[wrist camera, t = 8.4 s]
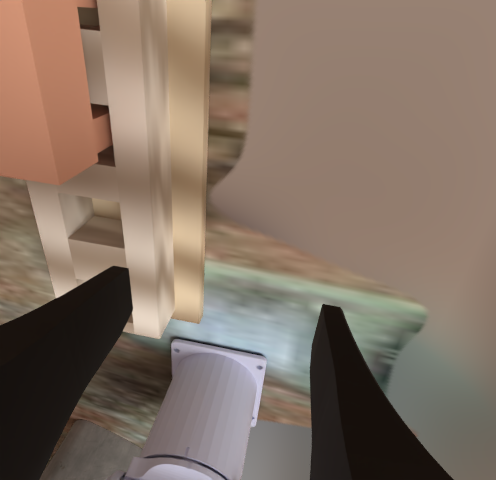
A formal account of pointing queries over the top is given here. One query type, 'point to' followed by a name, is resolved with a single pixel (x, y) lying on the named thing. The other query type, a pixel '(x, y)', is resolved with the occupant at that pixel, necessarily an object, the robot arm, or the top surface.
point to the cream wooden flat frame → (139, 162)
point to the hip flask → (90, 454)
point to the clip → (47, 93)
